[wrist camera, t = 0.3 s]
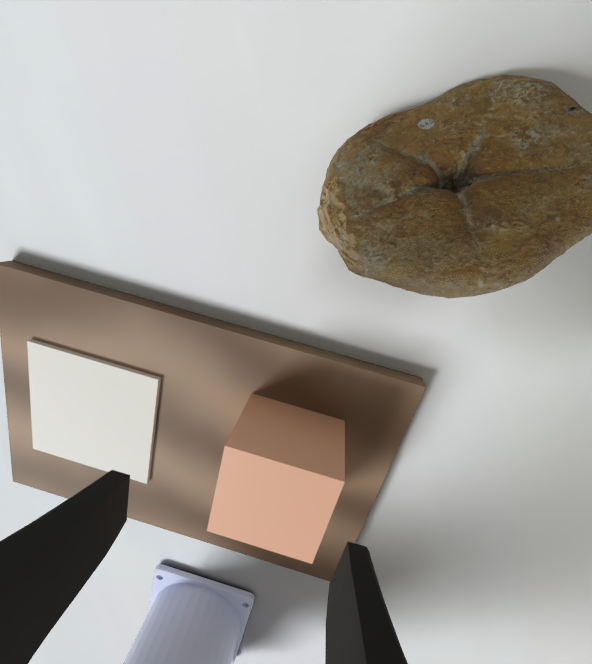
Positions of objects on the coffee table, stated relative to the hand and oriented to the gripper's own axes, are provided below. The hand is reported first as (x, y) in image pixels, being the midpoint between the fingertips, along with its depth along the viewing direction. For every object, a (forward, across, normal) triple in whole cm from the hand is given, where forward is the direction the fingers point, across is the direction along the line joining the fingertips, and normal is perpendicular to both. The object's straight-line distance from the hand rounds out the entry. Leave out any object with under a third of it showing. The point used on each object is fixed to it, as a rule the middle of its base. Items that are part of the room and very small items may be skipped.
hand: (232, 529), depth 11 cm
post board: (+10, +5, +5) cm, 12 cm away
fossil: (+10, -4, -12) cm, 16 cm away
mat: (+10, +11, +5) cm, 15 cm away
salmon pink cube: (+8, -1, +3) cm, 9 cm away
